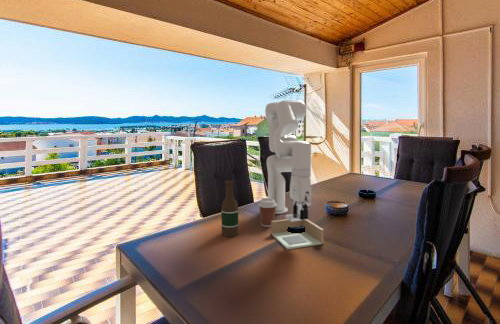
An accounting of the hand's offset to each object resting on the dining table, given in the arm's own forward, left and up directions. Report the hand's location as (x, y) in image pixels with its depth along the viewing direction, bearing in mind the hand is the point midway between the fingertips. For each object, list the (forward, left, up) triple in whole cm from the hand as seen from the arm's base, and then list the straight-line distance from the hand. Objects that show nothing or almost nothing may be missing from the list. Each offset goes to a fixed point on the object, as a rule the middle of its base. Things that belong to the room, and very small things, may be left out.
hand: (300, 216), depth 109 cm
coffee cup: (-23, -5, -11) cm, 26 cm away
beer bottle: (-17, -25, -11) cm, 32 cm away
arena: (-3, 0, -10) cm, 11 cm away
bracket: (0, -2, -1) cm, 3 cm away
